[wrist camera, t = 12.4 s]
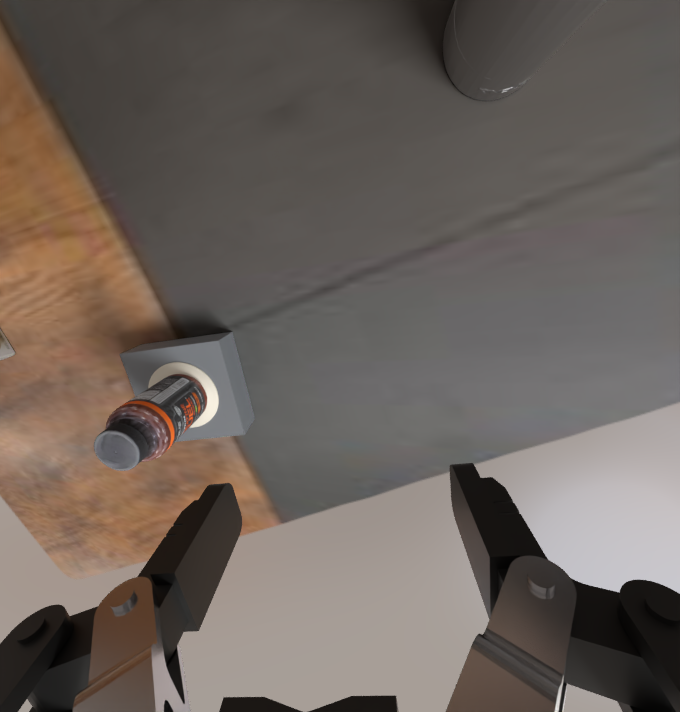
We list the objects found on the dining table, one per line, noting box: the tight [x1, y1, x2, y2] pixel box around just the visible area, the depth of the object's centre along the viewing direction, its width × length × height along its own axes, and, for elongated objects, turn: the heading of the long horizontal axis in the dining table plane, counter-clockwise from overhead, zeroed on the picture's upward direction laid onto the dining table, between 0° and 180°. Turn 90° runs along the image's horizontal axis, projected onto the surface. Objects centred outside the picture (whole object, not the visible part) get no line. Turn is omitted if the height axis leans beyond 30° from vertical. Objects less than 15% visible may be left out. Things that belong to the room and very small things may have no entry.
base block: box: [120, 332, 255, 442], centre depth 40 cm, size 12×12×4 cm
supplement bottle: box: [94, 374, 207, 471], centre depth 33 cm, size 6×6×11 cm
